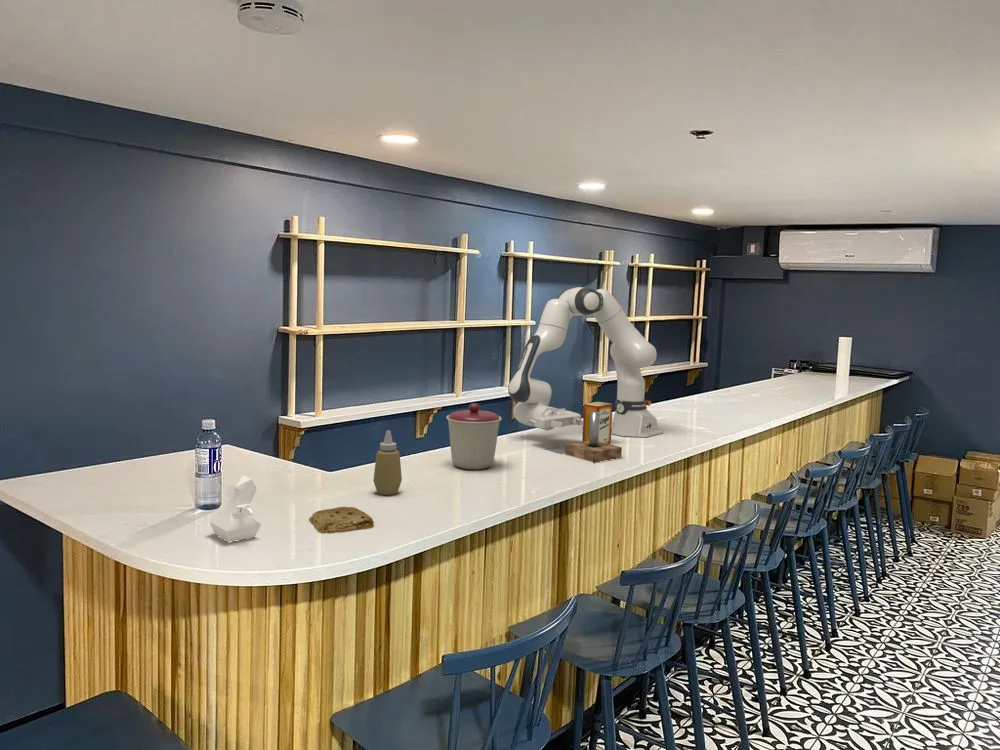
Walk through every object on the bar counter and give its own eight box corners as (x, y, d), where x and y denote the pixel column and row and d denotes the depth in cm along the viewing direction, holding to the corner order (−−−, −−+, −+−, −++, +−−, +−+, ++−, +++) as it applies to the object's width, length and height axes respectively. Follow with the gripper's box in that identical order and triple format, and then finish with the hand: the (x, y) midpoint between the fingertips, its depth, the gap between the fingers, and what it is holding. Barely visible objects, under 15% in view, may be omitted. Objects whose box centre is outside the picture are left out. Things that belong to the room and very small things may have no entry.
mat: (566, 446, 297) (566, 445, 297) (585, 451, 289) (585, 450, 289) (542, 450, 290) (542, 448, 290) (561, 455, 282) (561, 454, 282)
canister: (433, 465, 261) (435, 402, 258) (472, 457, 274) (474, 397, 271) (472, 476, 249) (474, 409, 246) (511, 467, 262) (513, 404, 259)
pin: (593, 455, 283) (595, 411, 281) (599, 457, 281) (601, 412, 279) (586, 456, 281) (588, 412, 279) (593, 458, 279) (595, 413, 277)
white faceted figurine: (232, 548, 177) (231, 488, 175) (205, 533, 187) (204, 476, 185) (267, 540, 183) (266, 482, 181) (239, 526, 193) (238, 471, 191)
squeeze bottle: (389, 498, 221) (390, 434, 219) (367, 493, 225) (367, 431, 223) (407, 492, 228) (408, 430, 225) (385, 487, 232) (386, 427, 230)
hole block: (592, 451, 291) (593, 440, 290) (621, 458, 280) (621, 447, 279) (565, 455, 282) (565, 444, 281) (593, 463, 271) (593, 451, 270)
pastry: (326, 511, 208) (326, 500, 208) (387, 519, 203) (387, 507, 203) (291, 531, 192) (291, 519, 191) (356, 539, 187) (356, 527, 186)
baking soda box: (596, 447, 297) (598, 405, 295) (582, 444, 302) (583, 403, 300) (610, 444, 304) (612, 402, 302) (596, 441, 309) (598, 400, 307)
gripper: (525, 411, 292) (551, 417, 281) (566, 407, 305) (591, 413, 294) (525, 428, 293) (550, 435, 282) (565, 423, 306) (591, 429, 295)
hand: (571, 423), depth 288 cm, fingers open, 8 cm apart
